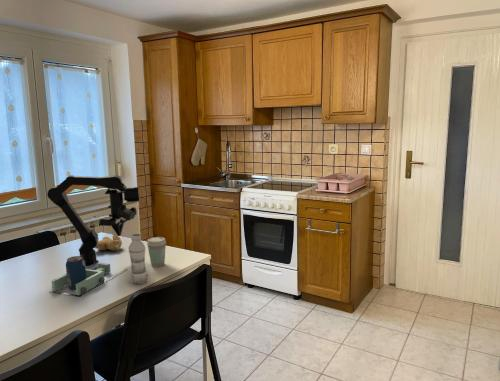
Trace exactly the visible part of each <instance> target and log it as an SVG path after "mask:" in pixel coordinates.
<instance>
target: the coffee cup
mask: <svg viewBox="0 0 500 381" xmlns="http://www.w3.org/2000/svg"><path fill="white" fill-rule="evenodd" d="M146 243H147V244H146V245H147V249H148V255H149V260H150V265H151V267H153V268H161V267H163V266H165V263H166V262H165V261H166V244H167V240H166V238H165V237H162V236H156V237H155V236H154V237H150V238H148V239H147V242H146Z"/></svg>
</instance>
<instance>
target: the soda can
mask: <svg viewBox="0 0 500 381" xmlns="http://www.w3.org/2000/svg"><path fill="white" fill-rule="evenodd" d="M86 269H87V268H86V266H85V261H84V259H83V257H82V256H80V255H76V256H70V257H68V258H67V259H66V262H65V270H66V273H65V274H67V283H68V284H67V287H68V289H70V291H76V285H75V284H77V283H79V282H81V281H83V280H85V279H87V278H86Z"/></svg>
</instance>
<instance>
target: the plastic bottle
mask: <svg viewBox="0 0 500 381" xmlns="http://www.w3.org/2000/svg"><path fill="white" fill-rule="evenodd" d="M130 238H131V239H130V240H131V242H130V244H129V246H128V255H129V259H130V266H131V267H130V271H131V272H130V281H131V283H132V284H134V285H142V284H145V283H146V282H147V281H148V273H147V268H146V259H145V258H146V245H145V243H144V242H143V241H141V240H142V235H141V234H140V233H134V234H131V236H130Z"/></svg>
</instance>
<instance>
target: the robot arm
mask: <svg viewBox="0 0 500 381" xmlns="http://www.w3.org/2000/svg"><path fill="white" fill-rule="evenodd" d="M71 186H89V187H91V186H93V187H94V186H95V187H103V188H106V189H107V190H106V191H105V192H104V194H105V195H109V205H108V209H110V214H108V216H109V217H108V216H106V217H103V218H100V219H99V222H98V224H99V225H100V226H105V227H106V226H107V227H111V228H112V229H113V231H114V232H115V235H118V237H120V236H122V231H123V229H124V228H123V227H124V225H125V224H126V222H128V221H131V220H134V218H135V217H136V216H137V214H138V213H137V212H138V211H137V208H136V207H134V206H133V207H131V208H128V207H127V205H126V204H125V203H124V201H125V202H127V203H136V202H137V203H139V202H141V200H140V191H139V186H134V187H127V186H126V185H125V183H123V179H122V177H121V176H120V175H117V174H112V175H106V176H84V175H82V176H80V175H68V176H67V177H66V178H65V179H64V180H63V181H61V183H60V184H58V185H54V186H53V187H51V188H50V189H49V190H48V191H47V198H48V199H49V200H50V202H52V203H53V204H55V205H56V206H57V207H58V208H60V210H61V211H62V213H63V214H65V215H64V216H66V217H67V219H68V220H69V222H70V223H71V224H72V226H73V228H74V229H75V230H76V231H77V233H78V235H79V237H80V241H81V245H80V247H79V248H78V252H79V256H82V257H83V259H84V261H85V267H91V266H93V265H94V264H98V262H99V260H97V254H96V250H95V249H96V248H95V247H96V245H97V243H98V241H99V239H100V238H99V234H98V232H96V230H95V228H94V227H93V228H89V227H88V226H87V225H86V224H85V222H84V221H83V219H82V218H81V217H80V215H79V214H78V213H77V211H76V209H75V208H74V207H73V205H72V204H71V202H70V201H69V197H68V195H67V192H66V191H67V190H68V189H69V188H70V187H71ZM99 263H100V262H99Z"/></svg>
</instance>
